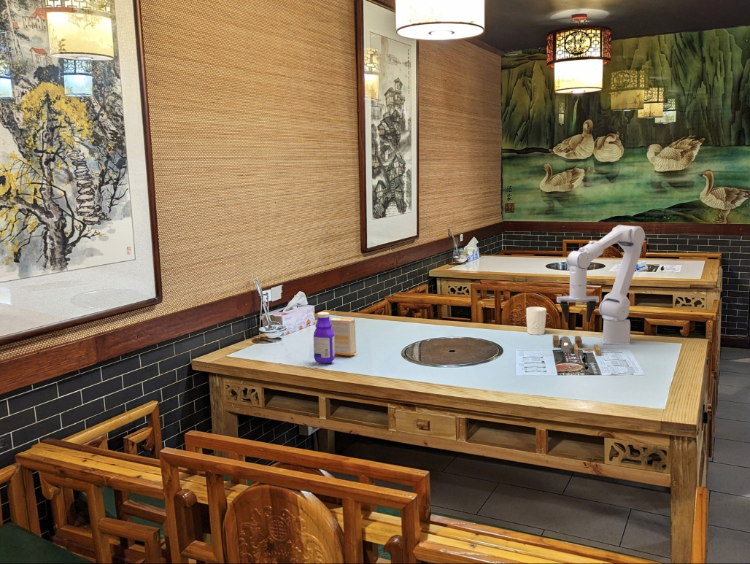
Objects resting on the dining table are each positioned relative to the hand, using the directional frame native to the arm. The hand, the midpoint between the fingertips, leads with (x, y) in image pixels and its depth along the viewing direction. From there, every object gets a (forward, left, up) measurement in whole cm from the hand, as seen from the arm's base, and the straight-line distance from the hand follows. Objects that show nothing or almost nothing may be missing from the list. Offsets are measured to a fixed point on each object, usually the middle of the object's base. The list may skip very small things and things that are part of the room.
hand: (577, 321), depth 243 cm
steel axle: (+3, +1, -10) cm, 11 cm away
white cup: (+14, -24, -11) cm, 30 cm away
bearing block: (+3, -4, -10) cm, 12 cm away
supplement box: (+83, +17, -11) cm, 85 cm away
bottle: (+87, +28, -11) cm, 92 cm away
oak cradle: (-3, +6, -10) cm, 12 cm away
